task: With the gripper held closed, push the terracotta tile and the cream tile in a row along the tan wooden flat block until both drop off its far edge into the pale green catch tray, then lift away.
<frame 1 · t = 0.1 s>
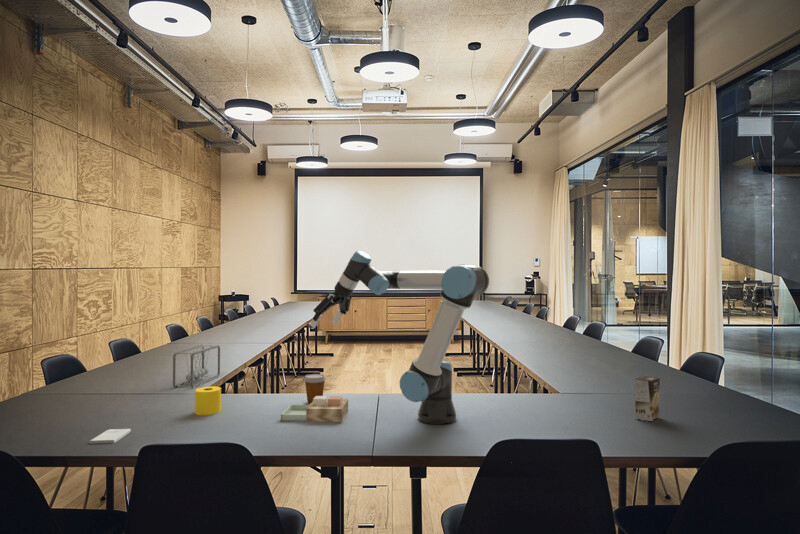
hand: (323, 325, 211), 36 cm above the table, tool tilted 35°, fingers open, 13 cm apart
coffee box: (647, 419, 198), on the table
disposable coffee cup: (314, 403, 220), on the table
cream tile: (320, 403, 200), point 5 cm above the table, touching tan wooden flat block
catch tray: (298, 415, 201), on the table
tan wooden flat block: (327, 416, 200), on the table
external hard drive: (110, 439, 174), on the table
newton's cradle: (197, 382, 262), on the table
yellow toilet paper roll: (208, 412, 206), on the table
terracotta tile: (335, 403, 200), point 5 cm above the table, touching tan wooden flat block
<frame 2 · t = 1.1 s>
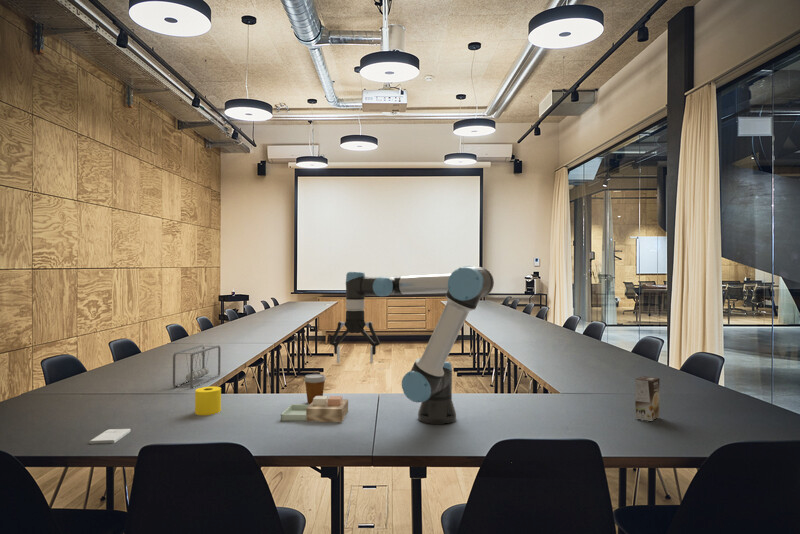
hand: (354, 362, 200), 22 cm above the table, tool pointing down, fingers open, 13 cm apart
nothing on the table moved.
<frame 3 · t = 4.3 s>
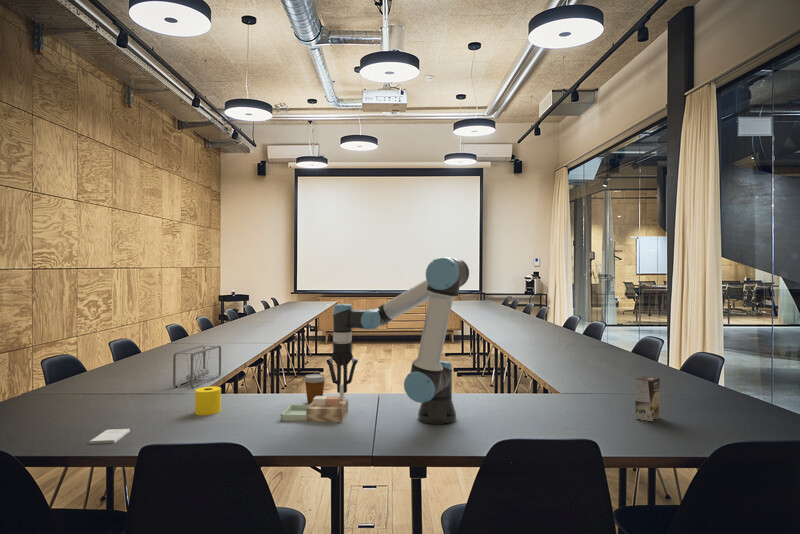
hand: (342, 400, 200), 6 cm above the table, tool pointing down, fingers closed
terracotta tile: (334, 403, 200), point 5 cm above the table, touching gripper, tan wooden flat block
everything else where it was.
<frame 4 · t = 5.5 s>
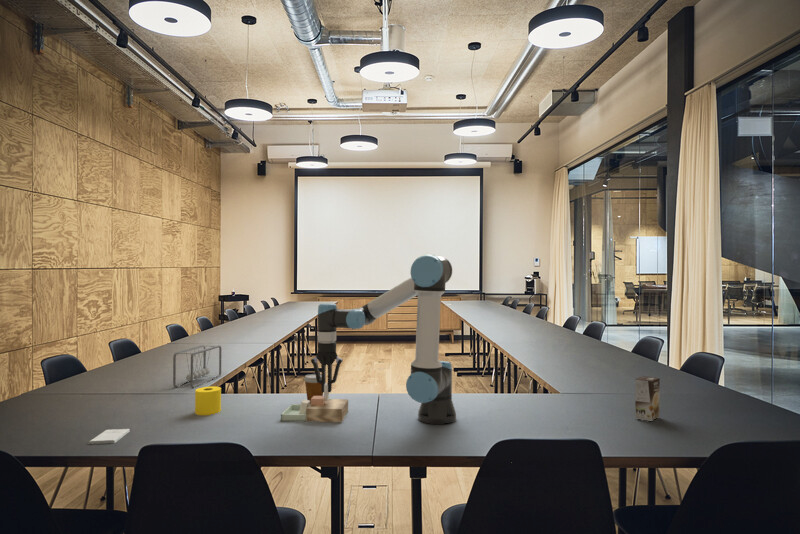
hand: (326, 400, 200), 6 cm above the table, tool pointing down, fingers closed
cream tile: (307, 408, 201), point 3 cm above the table, tilted 78°
terracotta tile: (318, 403, 200), point 5 cm above the table, touching gripper
everything else where it was.
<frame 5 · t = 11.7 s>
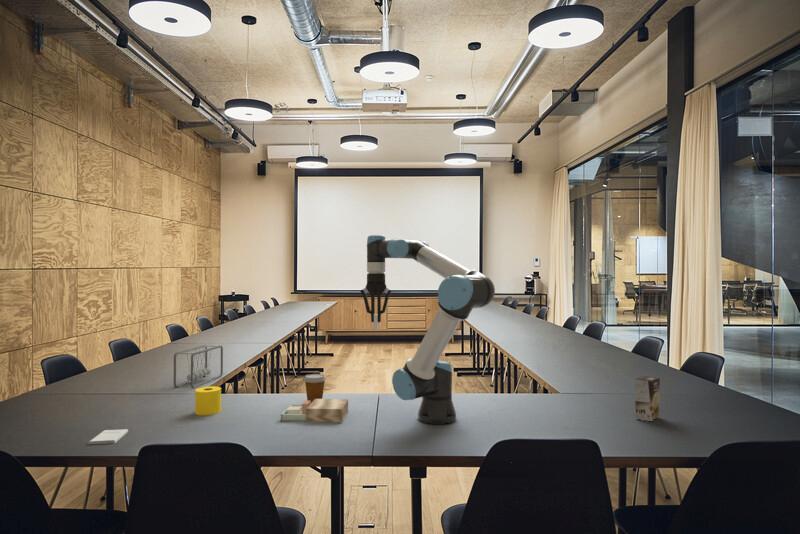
hand: (375, 330, 203), 34 cm above the table, tool pointing down, fingers closed
cream tile: (294, 407, 201), point 3 cm above the table, tilted 180°, touching catch tray
terracotta tile: (309, 408, 200), point 3 cm above the table, tilted 90°, touching catch tray
at the end: terracotta tile inside the target area (4.9 cm from its centre), point 3.0 cm above the table; cream tile inside the target area (1.3 cm from its centre), point 3.0 cm above the table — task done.
